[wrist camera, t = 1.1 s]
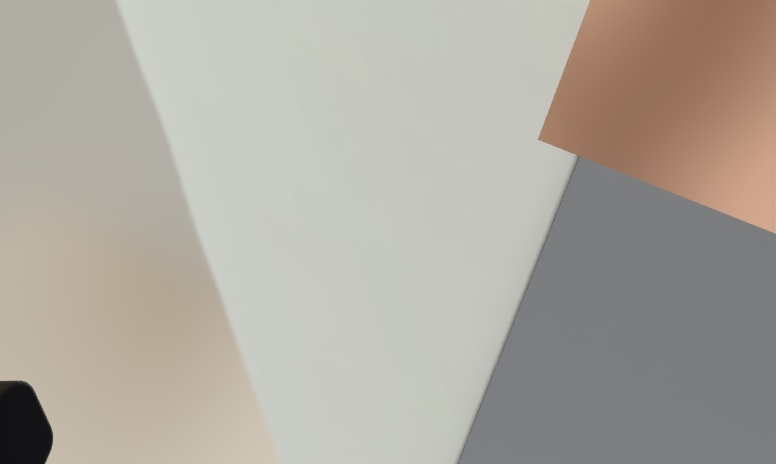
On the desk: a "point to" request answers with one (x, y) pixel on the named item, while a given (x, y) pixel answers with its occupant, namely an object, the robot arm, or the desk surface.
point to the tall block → (677, 99)
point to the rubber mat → (638, 337)
